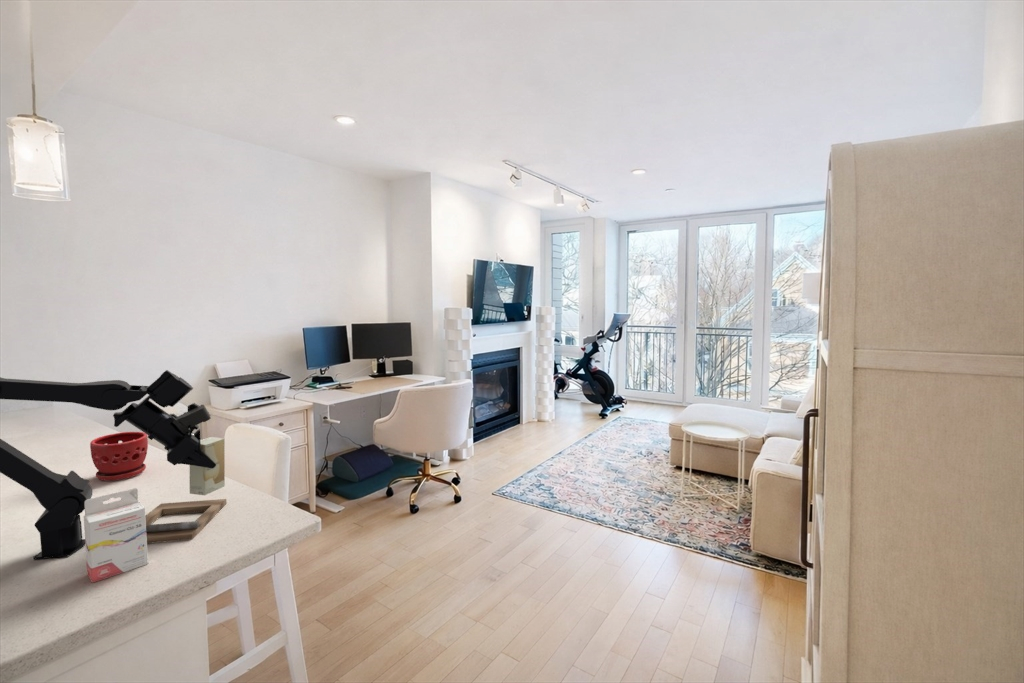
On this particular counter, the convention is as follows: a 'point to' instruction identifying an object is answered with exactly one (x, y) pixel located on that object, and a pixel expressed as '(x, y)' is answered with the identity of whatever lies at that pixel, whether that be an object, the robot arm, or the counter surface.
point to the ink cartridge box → (114, 535)
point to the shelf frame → (182, 528)
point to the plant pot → (119, 455)
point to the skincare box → (209, 478)
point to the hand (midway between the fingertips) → (214, 462)
